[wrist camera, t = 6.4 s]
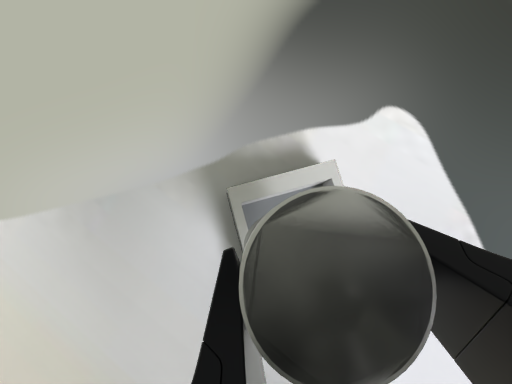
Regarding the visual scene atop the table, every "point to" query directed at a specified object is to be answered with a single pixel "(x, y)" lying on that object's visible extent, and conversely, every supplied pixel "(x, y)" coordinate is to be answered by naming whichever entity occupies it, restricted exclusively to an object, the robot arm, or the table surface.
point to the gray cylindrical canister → (336, 288)
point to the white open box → (276, 192)
